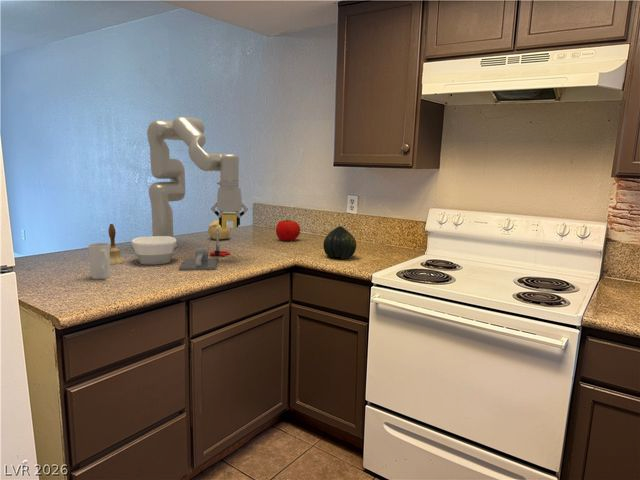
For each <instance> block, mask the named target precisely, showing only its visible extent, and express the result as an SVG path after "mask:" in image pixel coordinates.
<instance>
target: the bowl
mask: <svg viewBox="0 0 640 480" xmlns="http://www.w3.org/2000/svg"><path fill="white" fill-rule="evenodd" d="M177 242H178V241H177V239H176V238H175V237H174V236H173V237H170V236H153V235H152V236H140V237H138V236H137V237H135V238H133V239H132V240H131V245H132V247H133V250H134V252H135V254H136V257H137V259H138V262H139V263H140V264H141V265H144V266H145V265H146V266H147V265H151V266H152V265H154V266H156V265H165V264H169V263H170V262H171V259H172V256H173V254H174V251H175V249H176V248H175V245H176V244H177Z"/></svg>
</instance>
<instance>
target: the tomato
mask: <svg viewBox="0 0 640 480" xmlns="http://www.w3.org/2000/svg"><path fill="white" fill-rule="evenodd" d="M275 233H276V237H277V238H278V239H279V240H280V241H283V242H285V241H286V242H290V241H295V240H296V239H297V238H299V235H300V233H301V228H300V224H299V222H297V221H294V220H291V219H289V220H288V219H283V220H279V221H278V222H277V224H276V228H275Z"/></svg>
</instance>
